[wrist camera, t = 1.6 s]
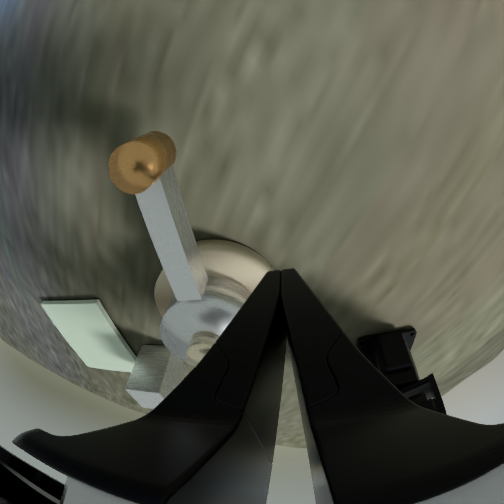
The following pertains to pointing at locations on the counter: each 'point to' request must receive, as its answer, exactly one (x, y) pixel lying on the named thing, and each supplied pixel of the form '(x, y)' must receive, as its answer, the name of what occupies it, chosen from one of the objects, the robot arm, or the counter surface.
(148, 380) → the grey rectangular block
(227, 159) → the counter surface
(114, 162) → the crank handle
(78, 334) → the mat
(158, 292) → the base
